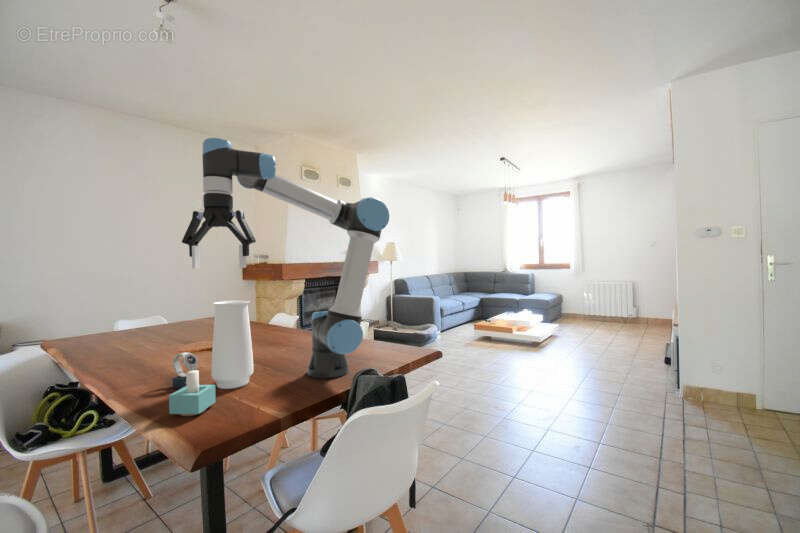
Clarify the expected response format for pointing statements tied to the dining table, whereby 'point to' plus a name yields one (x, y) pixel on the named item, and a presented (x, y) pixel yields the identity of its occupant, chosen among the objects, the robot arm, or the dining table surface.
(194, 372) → the post
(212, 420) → the dining table surface
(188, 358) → the watch
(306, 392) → the dining table surface
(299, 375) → the dining table surface
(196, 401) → the teal storage bin
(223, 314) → the vase
